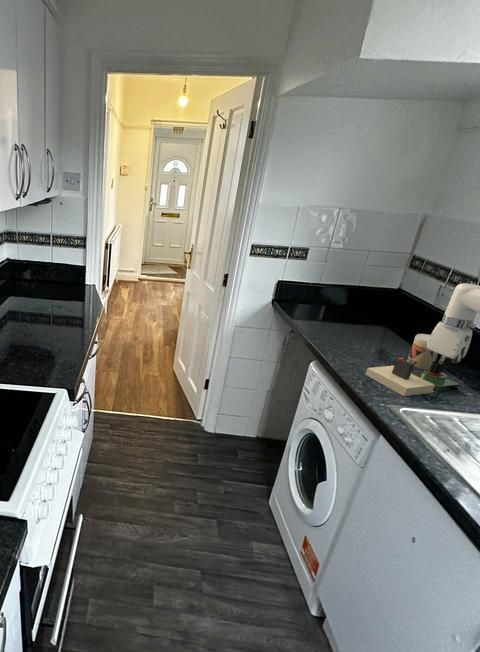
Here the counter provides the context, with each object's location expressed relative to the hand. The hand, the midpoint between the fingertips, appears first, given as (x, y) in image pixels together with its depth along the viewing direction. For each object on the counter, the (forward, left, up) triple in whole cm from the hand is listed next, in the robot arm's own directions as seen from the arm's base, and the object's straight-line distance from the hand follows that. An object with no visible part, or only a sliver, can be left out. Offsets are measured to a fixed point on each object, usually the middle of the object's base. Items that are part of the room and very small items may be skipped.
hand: (434, 372), depth 142 cm
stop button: (0, 0, -2) cm, 2 cm away
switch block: (0, 0, -4) cm, 4 cm away
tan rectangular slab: (+2, +13, -4) cm, 14 cm away
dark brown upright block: (+2, +13, -1) cm, 13 cm away
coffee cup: (+11, -8, -4) cm, 14 cm away
